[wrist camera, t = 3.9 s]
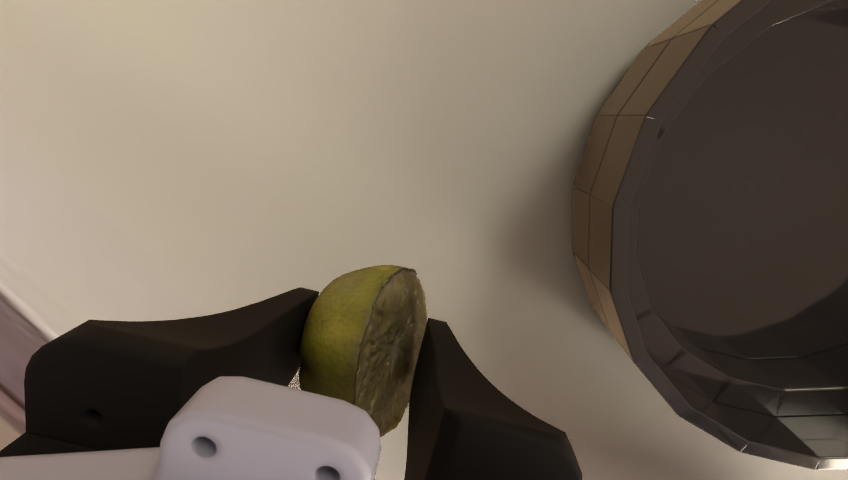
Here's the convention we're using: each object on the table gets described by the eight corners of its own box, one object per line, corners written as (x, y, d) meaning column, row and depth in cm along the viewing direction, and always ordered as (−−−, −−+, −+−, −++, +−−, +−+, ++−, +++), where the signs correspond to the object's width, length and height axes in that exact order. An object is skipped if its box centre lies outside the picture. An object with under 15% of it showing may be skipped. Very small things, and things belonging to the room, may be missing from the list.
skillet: (880, 423, 18) (1013, 516, 14) (518, 337, 18) (540, 406, 14) (1137, 21, 14) (1446, -22, 10) (661, -98, 14) (758, -196, 9)
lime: (395, 226, 14) (369, 280, 10) (474, 336, 15) (486, 435, 11) (294, 294, 15) (223, 375, 10) (374, 394, 16) (343, 510, 11)
